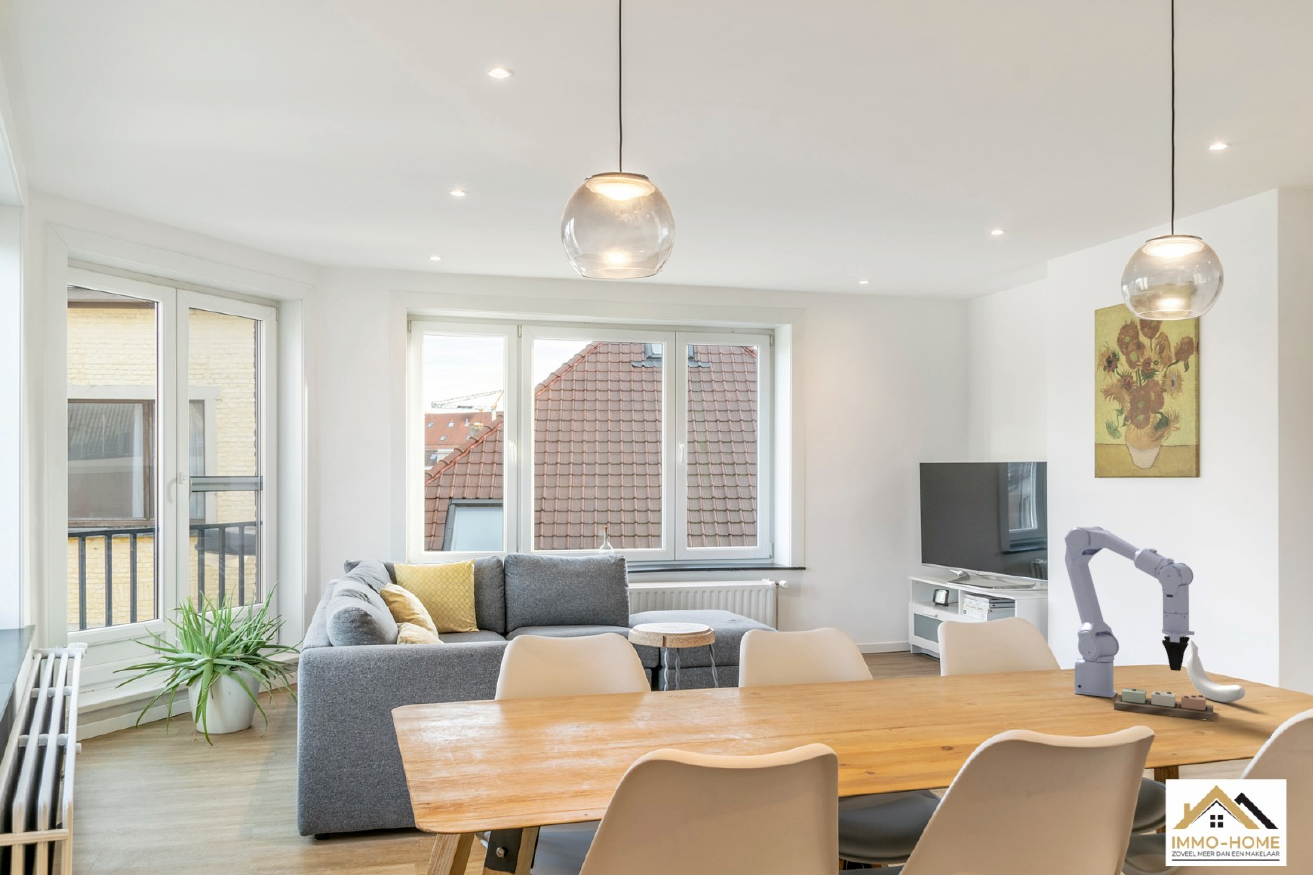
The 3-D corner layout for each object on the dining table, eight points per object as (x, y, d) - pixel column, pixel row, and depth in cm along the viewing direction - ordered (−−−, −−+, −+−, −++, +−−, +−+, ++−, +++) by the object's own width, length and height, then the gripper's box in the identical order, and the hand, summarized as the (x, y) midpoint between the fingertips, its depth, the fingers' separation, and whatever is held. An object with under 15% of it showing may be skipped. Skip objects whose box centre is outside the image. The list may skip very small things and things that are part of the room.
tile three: (1181, 707, 236) (1181, 696, 236) (1182, 703, 240) (1182, 692, 240) (1205, 710, 233) (1204, 698, 233) (1205, 706, 238) (1205, 695, 238)
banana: (1240, 710, 242) (1239, 650, 242) (1180, 693, 260) (1179, 638, 261) (1256, 709, 243) (1255, 649, 244) (1195, 693, 261) (1194, 638, 262)
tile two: (1151, 704, 239) (1151, 693, 239) (1152, 700, 243) (1152, 689, 244) (1174, 706, 237) (1174, 695, 237) (1175, 702, 241) (1175, 691, 241)
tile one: (1122, 700, 243) (1121, 689, 243) (1124, 697, 247) (1124, 686, 247) (1144, 703, 240) (1144, 692, 240) (1146, 699, 244) (1146, 688, 244)
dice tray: (1114, 709, 241) (1114, 702, 241) (1118, 700, 250) (1118, 694, 250) (1212, 720, 230) (1211, 714, 230) (1213, 711, 239) (1213, 705, 239)
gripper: (1193, 617, 234) (1193, 674, 233) (1194, 610, 246) (1195, 664, 246) (1160, 614, 237) (1160, 671, 237) (1163, 608, 250) (1163, 661, 249)
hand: (1176, 667), depth 241 cm, fingers open, 7 cm apart
